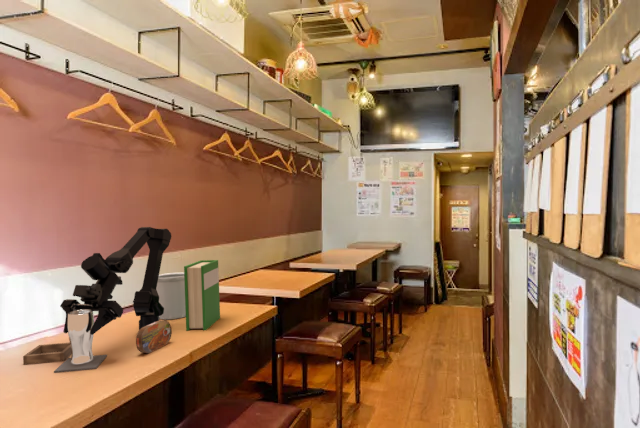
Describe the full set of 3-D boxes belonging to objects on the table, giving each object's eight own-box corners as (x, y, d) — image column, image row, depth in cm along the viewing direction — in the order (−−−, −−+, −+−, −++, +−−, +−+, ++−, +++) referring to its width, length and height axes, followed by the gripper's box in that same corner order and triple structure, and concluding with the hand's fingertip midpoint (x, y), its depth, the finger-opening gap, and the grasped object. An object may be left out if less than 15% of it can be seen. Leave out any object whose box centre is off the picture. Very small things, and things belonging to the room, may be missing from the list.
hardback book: (205, 330, 160) (203, 266, 159) (186, 330, 160) (184, 266, 160) (220, 318, 177) (218, 260, 177) (202, 318, 178) (200, 260, 178)
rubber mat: (107, 356, 135) (107, 354, 135) (96, 368, 124) (96, 367, 124) (68, 359, 132) (68, 357, 132) (54, 372, 122) (53, 371, 122)
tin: (142, 357, 133) (141, 329, 133) (134, 356, 134) (133, 329, 134) (173, 341, 147) (172, 317, 147) (165, 341, 148) (164, 316, 148)
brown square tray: (76, 349, 142) (76, 341, 142) (63, 360, 131) (63, 352, 131) (39, 352, 140) (39, 344, 140) (23, 364, 129) (23, 356, 129)
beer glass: (92, 364, 126) (90, 313, 126) (65, 367, 124) (64, 315, 124) (97, 356, 133) (96, 308, 132) (72, 359, 131) (70, 310, 131)
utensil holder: (146, 318, 180) (144, 277, 179) (171, 310, 193) (170, 271, 193) (174, 321, 174) (172, 278, 174) (198, 312, 188) (196, 272, 187)
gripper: (63, 273, 134) (34, 318, 123) (115, 274, 129) (89, 320, 119) (84, 293, 142) (57, 337, 131) (133, 294, 137) (110, 339, 127)
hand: (77, 333), depth 127 cm, fingers open, 9 cm apart
